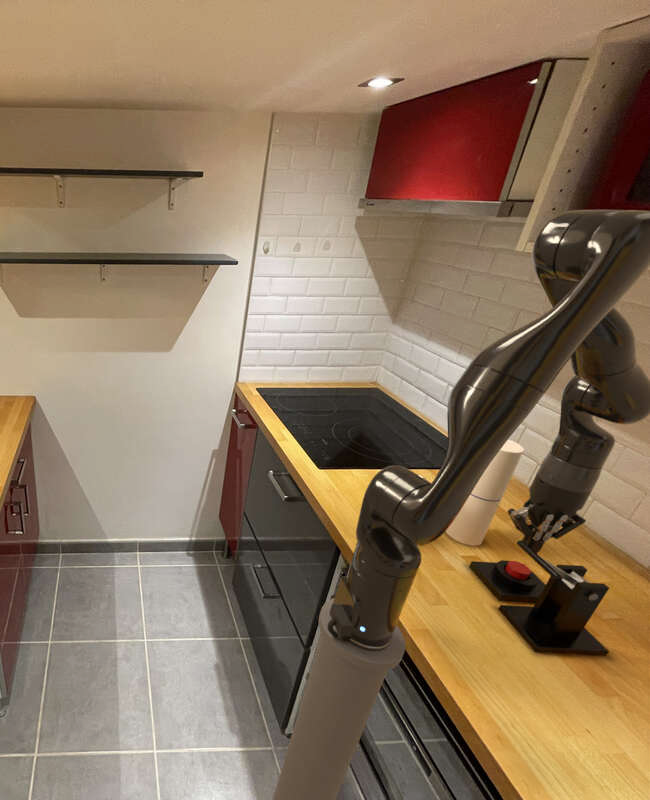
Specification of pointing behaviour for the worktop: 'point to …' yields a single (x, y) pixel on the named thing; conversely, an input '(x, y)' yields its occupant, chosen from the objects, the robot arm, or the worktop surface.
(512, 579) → the block
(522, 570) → the button
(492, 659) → the worktop surface
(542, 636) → the lever bracket
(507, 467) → the cylindrical container
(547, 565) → the lever
